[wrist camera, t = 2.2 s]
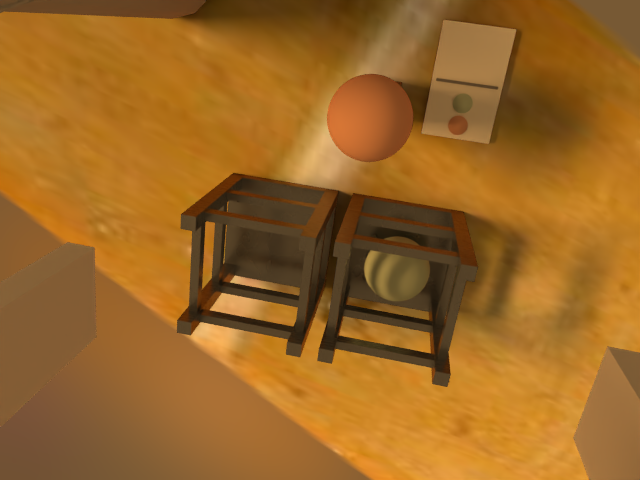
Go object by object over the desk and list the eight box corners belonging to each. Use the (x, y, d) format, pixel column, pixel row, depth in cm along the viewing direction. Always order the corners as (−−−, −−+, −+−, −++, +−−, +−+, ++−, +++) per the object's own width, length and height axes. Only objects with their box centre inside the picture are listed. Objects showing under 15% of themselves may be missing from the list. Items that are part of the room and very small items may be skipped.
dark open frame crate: (353, 193, 45) (334, 241, 34) (463, 211, 44) (477, 267, 34) (338, 290, 48) (317, 360, 38) (440, 309, 47) (447, 386, 37)
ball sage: (372, 222, 44) (367, 244, 40) (434, 233, 44) (437, 257, 39) (362, 278, 46) (356, 306, 42) (422, 289, 46) (423, 318, 41)
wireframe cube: (233, 173, 46) (181, 214, 35) (338, 190, 45) (315, 238, 35) (226, 269, 49) (177, 332, 39) (324, 287, 48) (300, 357, 38)
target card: (443, 19, 39) (443, 19, 39) (515, 29, 39) (516, 29, 38) (421, 132, 42) (421, 133, 42) (488, 142, 42) (488, 144, 41)
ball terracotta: (339, 65, 34) (327, 71, 29) (420, 77, 34) (421, 85, 29) (328, 145, 36) (315, 162, 31) (405, 157, 35) (403, 177, 31)
